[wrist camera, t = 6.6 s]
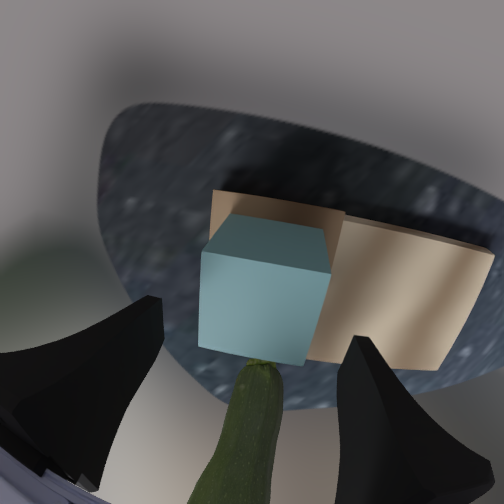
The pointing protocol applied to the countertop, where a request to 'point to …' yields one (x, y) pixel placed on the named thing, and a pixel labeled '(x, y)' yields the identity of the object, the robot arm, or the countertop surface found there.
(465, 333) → the countertop surface
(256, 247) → the teal block
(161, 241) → the countertop surface
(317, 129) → the countertop surface
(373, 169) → the countertop surface
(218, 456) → the vegetable
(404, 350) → the maple board
